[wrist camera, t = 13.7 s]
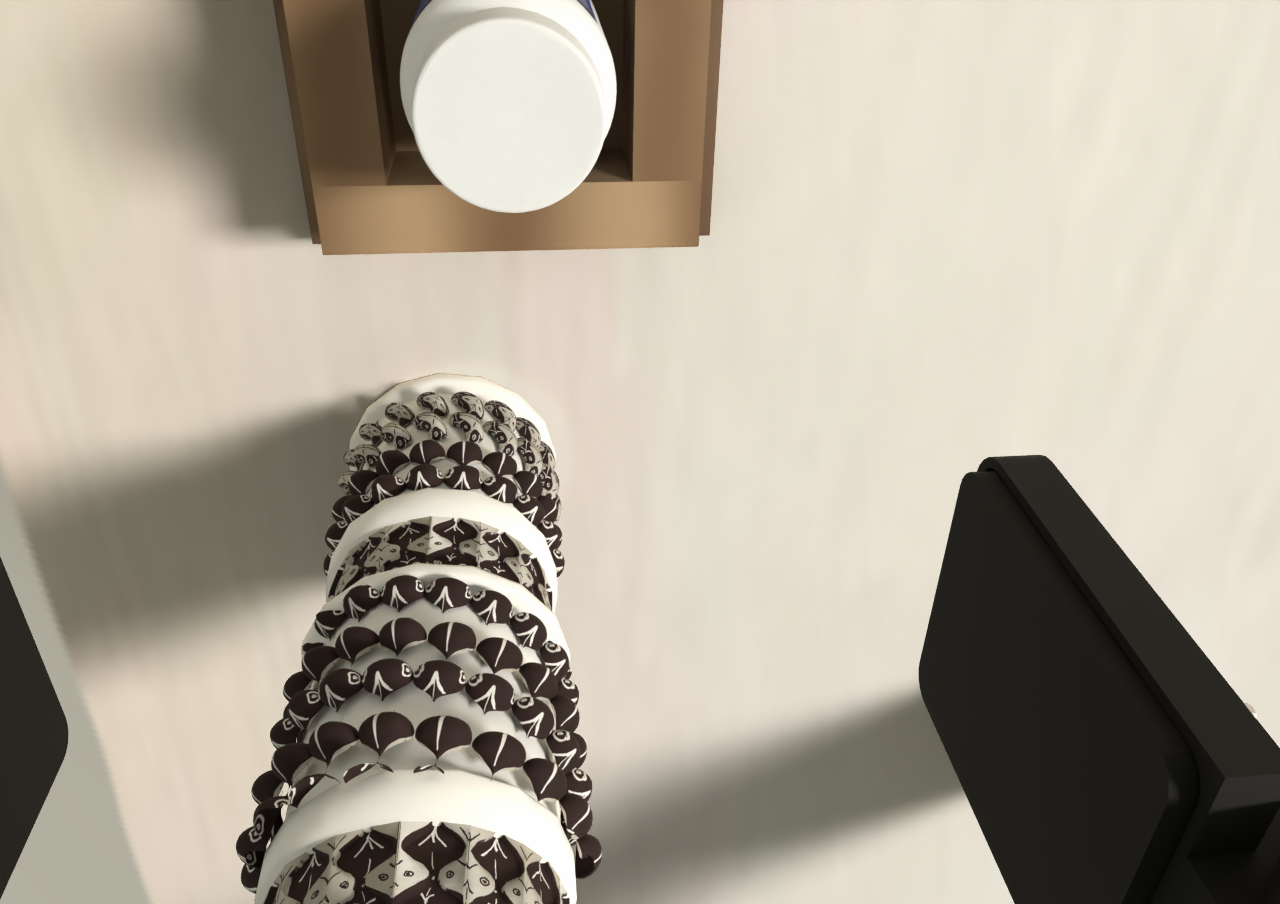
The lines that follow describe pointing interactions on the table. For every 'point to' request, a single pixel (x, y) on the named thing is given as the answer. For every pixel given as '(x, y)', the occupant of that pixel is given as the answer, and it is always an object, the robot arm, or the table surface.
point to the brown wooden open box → (442, 222)
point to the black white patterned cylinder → (432, 674)
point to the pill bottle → (508, 97)
